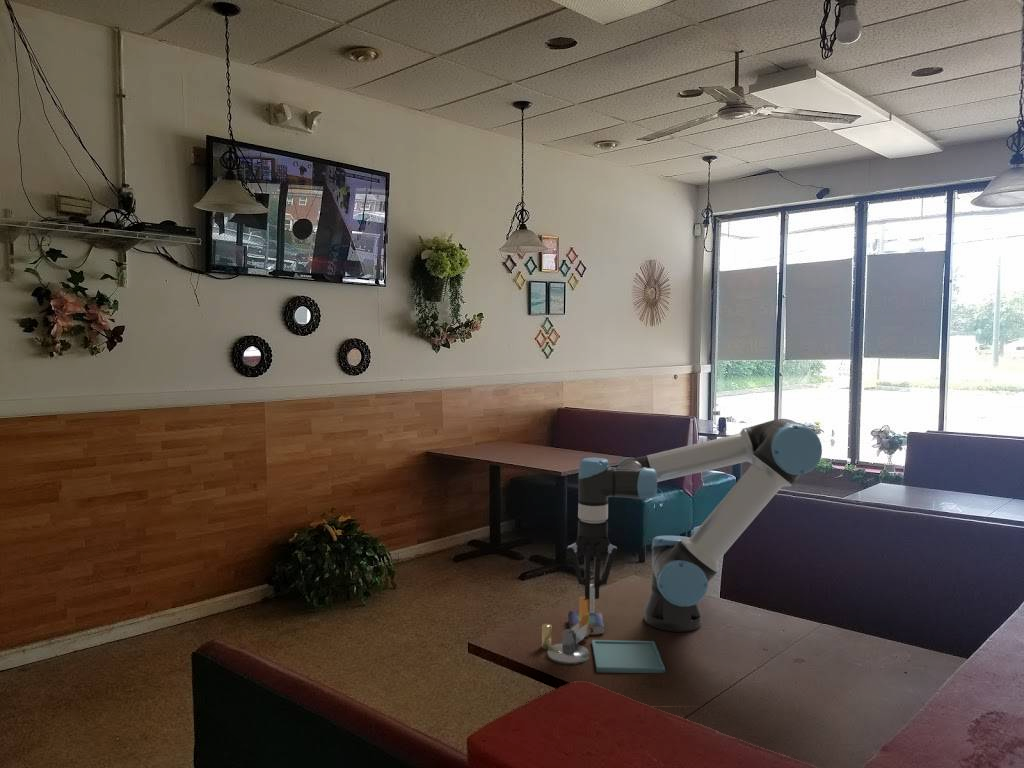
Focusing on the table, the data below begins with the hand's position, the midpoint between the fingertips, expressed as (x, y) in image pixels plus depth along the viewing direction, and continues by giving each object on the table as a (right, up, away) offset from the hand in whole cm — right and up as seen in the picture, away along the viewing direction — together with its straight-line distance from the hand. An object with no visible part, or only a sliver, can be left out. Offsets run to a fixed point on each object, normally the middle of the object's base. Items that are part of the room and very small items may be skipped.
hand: (591, 610), depth 188 cm
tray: (+7, -8, -10) cm, 15 cm away
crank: (-3, -6, -3) cm, 7 cm away
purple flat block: (-1, -8, +11) cm, 14 cm away
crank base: (-7, -8, -9) cm, 14 cm away
